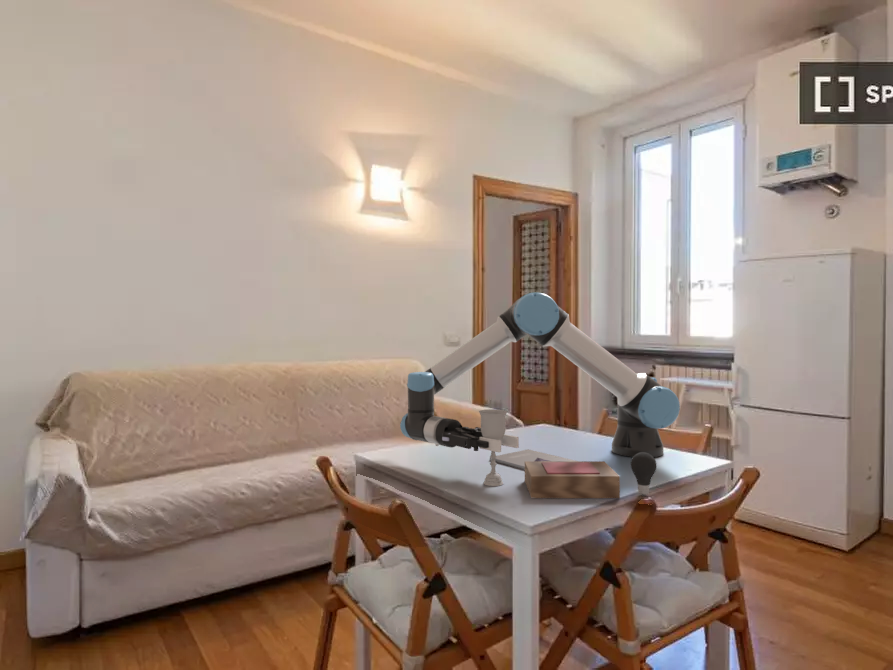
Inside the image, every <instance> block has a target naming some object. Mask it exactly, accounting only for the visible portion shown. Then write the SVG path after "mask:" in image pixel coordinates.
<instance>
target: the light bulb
mask: <svg viewBox="0 0 893 670" xmlns="http://www.w3.org/2000/svg"><path fill="white" fill-rule="evenodd" d="M657 466H658V465H657V461H656V459H655V457H653V456H651V455H650V454H648V453H645V452H640V453H637V454H636V455H634V456H633V457H632V458H631V460H630V468H631V471H632V473H633V475H634V476H635V479H636V483H637V492H638V493H639V494H640V495H641V496H642V497H646V496H647V495H648V494H650V484H651V481H652V479H653V476H654V474H655V473H656V471H657Z"/></svg>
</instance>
